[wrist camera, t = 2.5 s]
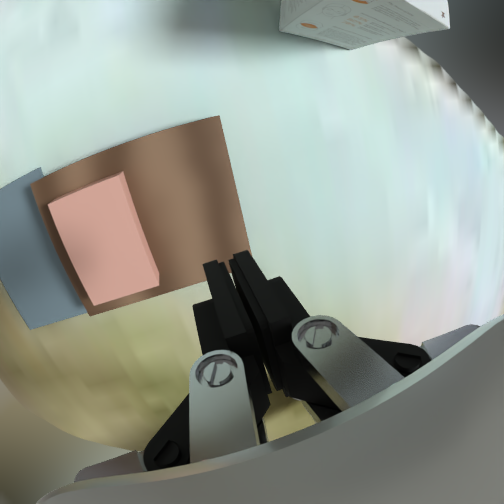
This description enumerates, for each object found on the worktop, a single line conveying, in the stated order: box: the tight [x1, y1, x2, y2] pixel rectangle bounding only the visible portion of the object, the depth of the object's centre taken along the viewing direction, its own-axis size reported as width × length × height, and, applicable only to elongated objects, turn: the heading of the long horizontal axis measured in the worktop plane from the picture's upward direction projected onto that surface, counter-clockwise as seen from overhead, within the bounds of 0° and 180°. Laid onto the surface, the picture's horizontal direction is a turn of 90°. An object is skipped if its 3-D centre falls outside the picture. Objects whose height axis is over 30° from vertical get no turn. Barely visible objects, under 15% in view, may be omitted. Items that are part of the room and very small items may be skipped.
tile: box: [48, 171, 159, 306], centre depth 20 cm, size 6×9×2 cm, turn 11°
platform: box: [30, 116, 252, 316], centre depth 23 cm, size 16×13×3 cm
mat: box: [0, 167, 87, 330], centre depth 22 cm, size 10×15×1 cm, turn 11°
